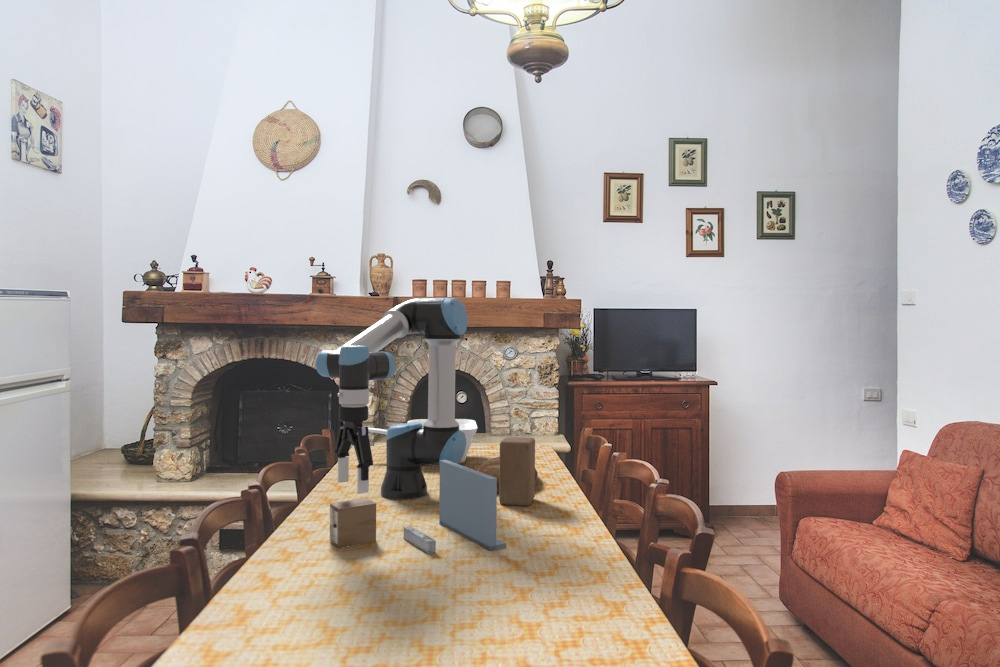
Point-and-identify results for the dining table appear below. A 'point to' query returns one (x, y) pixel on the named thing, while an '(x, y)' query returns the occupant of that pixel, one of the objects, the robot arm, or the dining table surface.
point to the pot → (464, 425)
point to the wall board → (469, 504)
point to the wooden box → (352, 522)
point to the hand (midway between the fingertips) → (352, 487)
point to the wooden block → (517, 471)
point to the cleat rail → (420, 540)
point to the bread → (495, 469)
